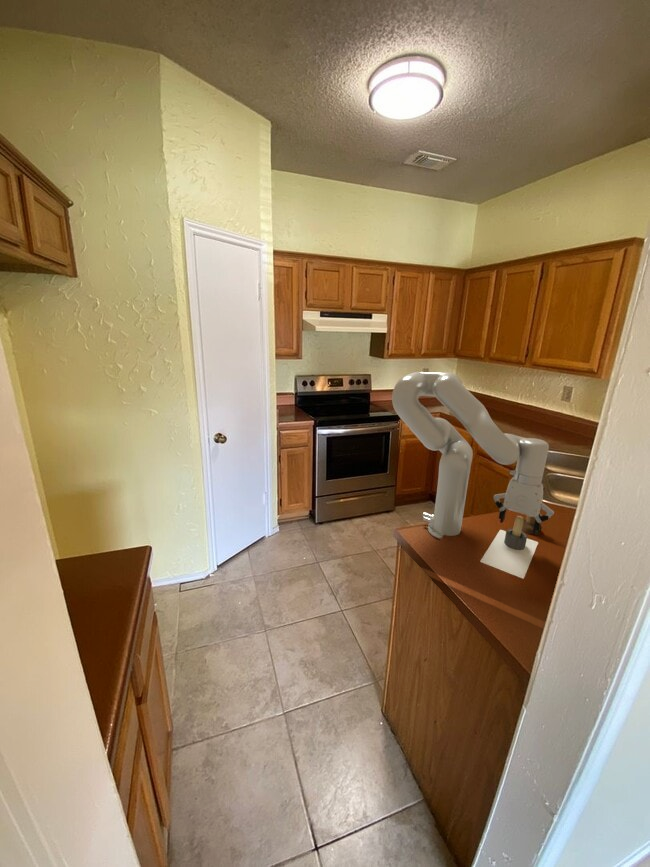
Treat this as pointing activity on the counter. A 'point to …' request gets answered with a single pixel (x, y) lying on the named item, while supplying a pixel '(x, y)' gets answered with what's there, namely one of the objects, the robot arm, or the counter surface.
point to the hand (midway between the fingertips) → (517, 526)
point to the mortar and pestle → (530, 524)
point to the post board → (510, 552)
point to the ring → (515, 540)
